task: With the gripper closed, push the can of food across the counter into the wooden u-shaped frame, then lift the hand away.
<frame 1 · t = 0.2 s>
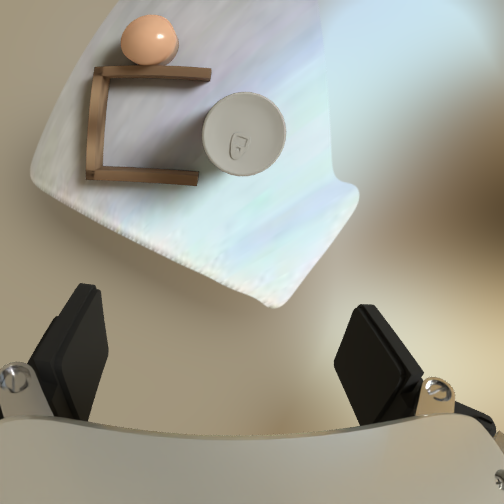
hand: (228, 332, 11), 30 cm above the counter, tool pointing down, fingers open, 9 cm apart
canned food: (236, 129, 36), on the counter
wooden u-shaped frame: (148, 122, 34), on the counter
peach egg shape: (154, 47, 30), on the counter
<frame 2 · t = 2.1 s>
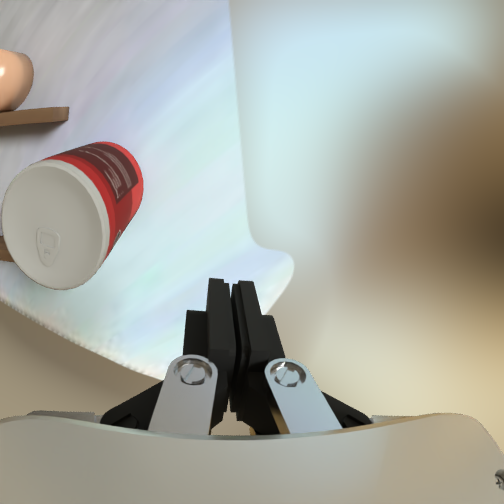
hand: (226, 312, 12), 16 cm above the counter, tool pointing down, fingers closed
canned food: (105, 184, 25), on the counter
wooden u-shaped frame: (9, 182, 23), on the counter
peach egg shape: (10, 82, 19), on the counter
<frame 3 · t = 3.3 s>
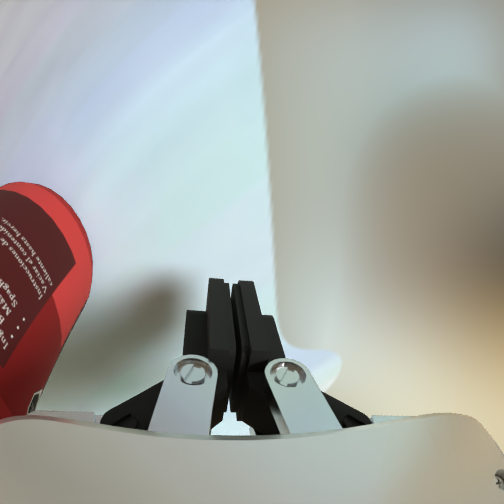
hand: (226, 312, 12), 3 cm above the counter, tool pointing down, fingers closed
canned food: (36, 251, 13), on the counter
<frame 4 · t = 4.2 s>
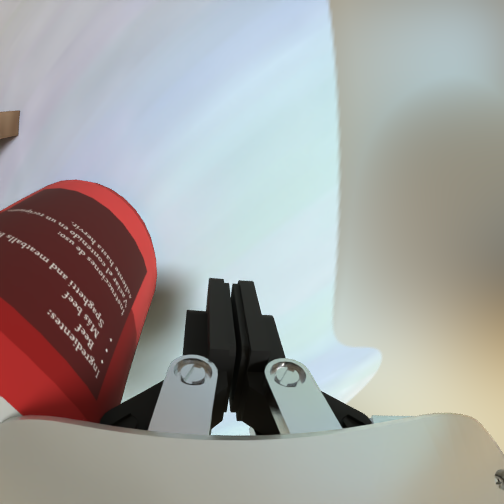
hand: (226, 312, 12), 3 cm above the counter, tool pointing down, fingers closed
canned food: (87, 255, 14), on the counter, touching gripper
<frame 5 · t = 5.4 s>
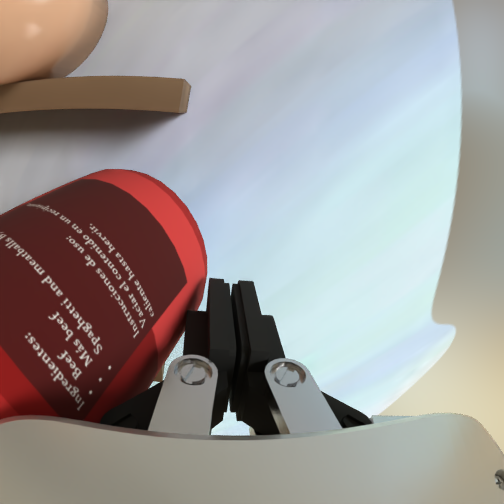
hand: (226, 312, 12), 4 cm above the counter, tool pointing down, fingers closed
canned food: (137, 249, 13), point 1 cm above the counter, touching gripper
wooden u-shaped frame: (44, 222, 13), on the counter
peach egg shape: (52, 28, 9), on the counter
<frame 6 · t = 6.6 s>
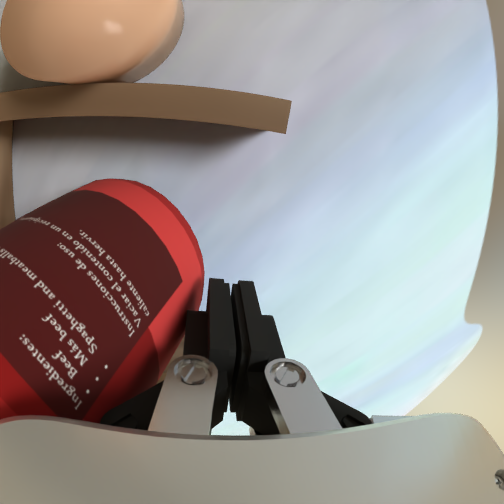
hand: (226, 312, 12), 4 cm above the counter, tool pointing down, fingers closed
canned food: (134, 256, 14), point 1 cm above the counter, touching gripper
wooden u-shaped frame: (108, 235, 14), on the counter
peach egg shape: (118, 26, 10), on the counter
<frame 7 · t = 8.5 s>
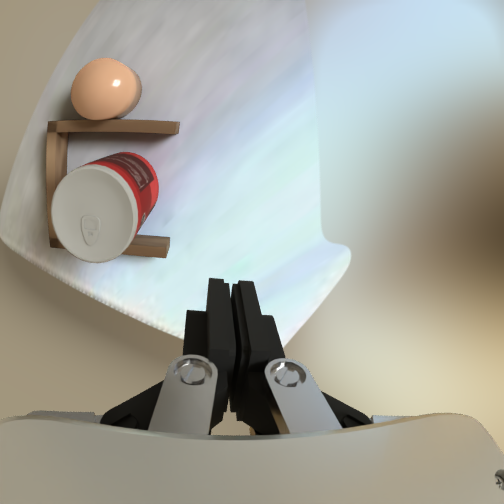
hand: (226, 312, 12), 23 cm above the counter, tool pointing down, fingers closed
canned food: (127, 186, 32), on the counter
wooden u-shaped frame: (111, 182, 31), on the counter
peach egg shape: (115, 92, 27), on the counter
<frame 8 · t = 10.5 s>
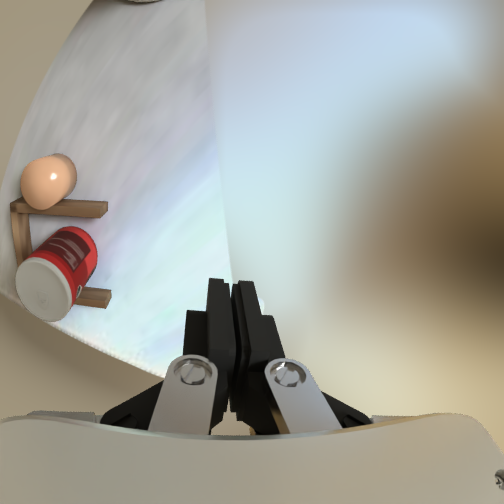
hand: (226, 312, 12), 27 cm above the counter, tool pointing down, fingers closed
canned food: (75, 251, 38), on the counter
wooden u-shaped frame: (63, 248, 37), on the counter
peach egg shape: (57, 176, 33), on the counter
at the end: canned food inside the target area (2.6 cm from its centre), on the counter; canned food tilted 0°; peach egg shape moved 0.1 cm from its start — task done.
